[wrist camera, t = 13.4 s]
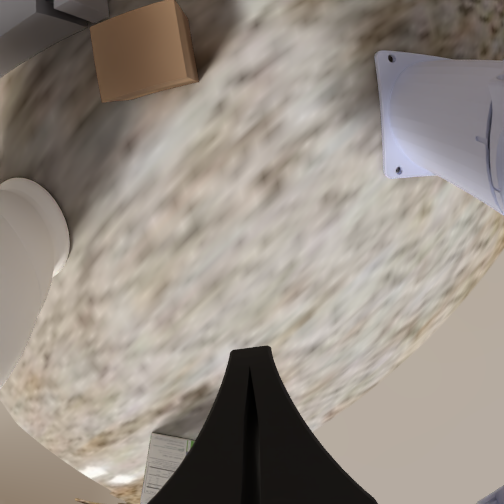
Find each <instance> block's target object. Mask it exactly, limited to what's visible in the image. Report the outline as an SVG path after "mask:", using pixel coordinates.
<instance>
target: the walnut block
mask: <svg viewBox="0 0 504 504" xmlns="http://www.w3.org/2000/svg"><path fill="white" fill-rule="evenodd" d="M90 33H91V41H92V48H93V55H94V62H95V68H96V74H97V79H98V85H99V90H100V95H101V100H102V103H103V102H112V101H123V100H132V99H135V98H139V97H142V96H145V95H149V94H152V93H156V92H159V91H163V90H167V89H171V88H175V87H179V86H183V85H187V84H192V83H196V82H199V79H198V73H197V68H196V62H195V56H194V51H193V45H192V39H191V34H190V28H189V22H188V18H187V17H186V15H185V14H184V12H183V11H182V9H181V8H180V7H179V5H178V4H177V2H176V1H175V0H164V1H160V2H157V3H153V4H150V5H147V6H144V7H141V8H138V9H135V10H132V11H129V12H126V13H123V14H121V15H118V16H115V17H113V18H110V19H108V20H105V21H103V22H100V23H98V24H96V25H93V26H91V27H90Z"/></svg>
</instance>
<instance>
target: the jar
mask: <svg viewBox="0 0 504 504" xmlns="http://www.w3.org/2000/svg"><path fill="white" fill-rule="evenodd" d="M69 247H70V240H69V232H68V227H67V224H66V221H65V218H64V216H63V213H62V211H61V209H60V207H59V206H58V204H57V203H56V201H55V200H54V198H53V197H52V196H51V195H50V194H49V193H48V192H47V191H46V190H45V189H44V188H43V187H42V186H40V185H39V184H37V183H36V182H34V181H32V180H29V179H26V178H11V179H8V180H6V181H4V182H3V183H1V184H0V389H1V388H2V386H3V385H4V383H5V382H6V381H7V379H8V378H9V376H10V375H11V373H12V371H13V370H14V368H15V366H16V365H17V363H18V361H19V359H20V357H21V356H22V354H23V352H24V350H25V347H26V345H27V343H28V341H29V338H30V336H31V334H32V331H33V328H34V325H35V322H36V319H37V317H38V315H39V313H40V311H41V309H42V307H43V305H44V303H45V300H46V298H47V295H48V292H49V289H50V286H51V282H52V277H53V276H55V275H56V274H58V273H59V272H60V271H61V270H62V268H63V267H64V265H65V263H66V261H67V258H68V255H69Z"/></svg>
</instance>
